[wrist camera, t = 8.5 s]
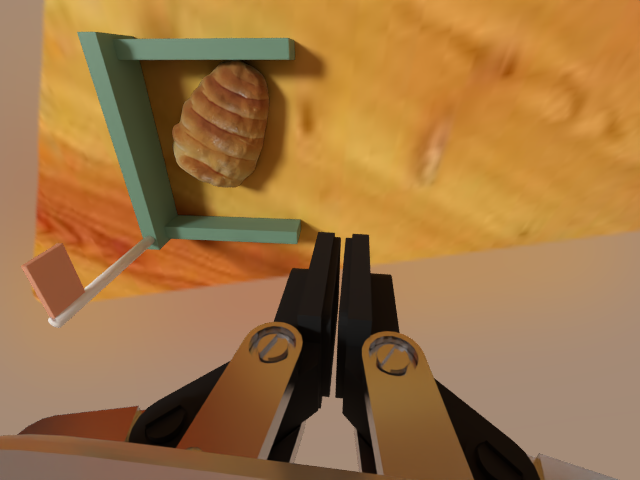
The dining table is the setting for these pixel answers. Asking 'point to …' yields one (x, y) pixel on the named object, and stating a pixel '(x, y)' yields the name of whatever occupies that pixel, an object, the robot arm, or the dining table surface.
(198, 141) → the pastry
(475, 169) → the dining table surface
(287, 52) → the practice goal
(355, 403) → the robot arm
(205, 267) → the dining table surface
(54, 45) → the dining table surface
